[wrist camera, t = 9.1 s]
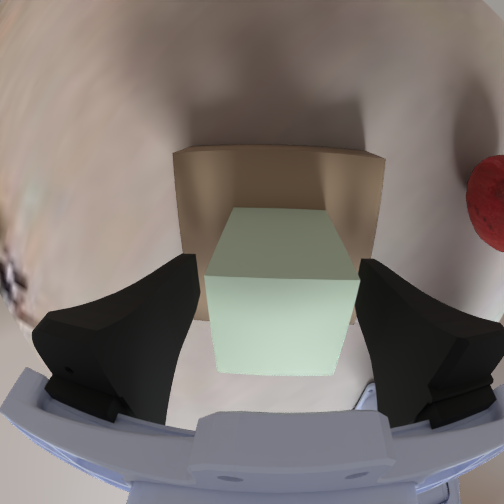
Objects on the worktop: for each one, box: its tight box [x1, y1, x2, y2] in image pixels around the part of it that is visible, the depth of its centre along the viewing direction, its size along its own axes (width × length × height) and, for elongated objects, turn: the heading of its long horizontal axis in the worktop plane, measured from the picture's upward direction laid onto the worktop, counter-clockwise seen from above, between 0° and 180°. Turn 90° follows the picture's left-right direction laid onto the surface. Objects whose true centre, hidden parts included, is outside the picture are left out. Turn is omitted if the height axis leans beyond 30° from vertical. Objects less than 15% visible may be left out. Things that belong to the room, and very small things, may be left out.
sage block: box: [204, 207, 360, 376], centre depth 11 cm, size 4×4×6 cm
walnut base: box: [173, 144, 386, 325], centre depth 15 cm, size 10×10×3 cm
